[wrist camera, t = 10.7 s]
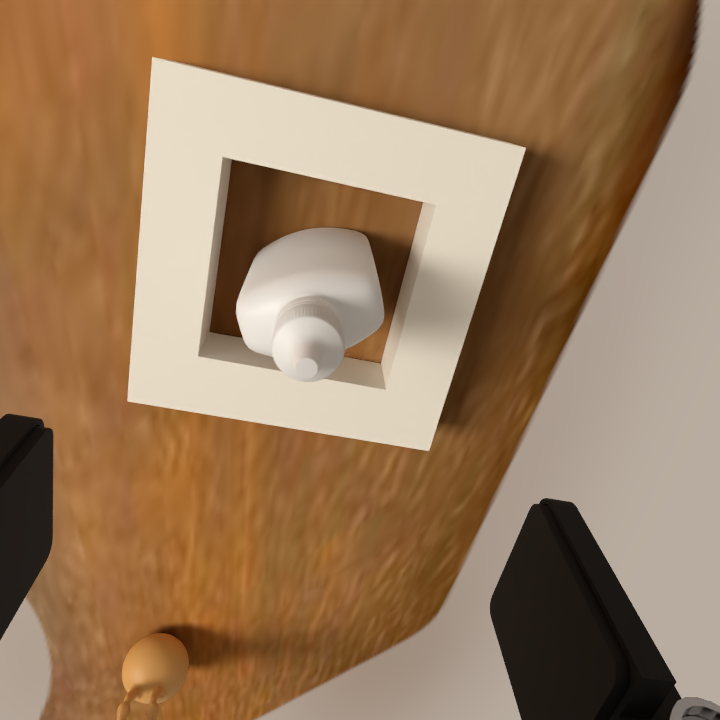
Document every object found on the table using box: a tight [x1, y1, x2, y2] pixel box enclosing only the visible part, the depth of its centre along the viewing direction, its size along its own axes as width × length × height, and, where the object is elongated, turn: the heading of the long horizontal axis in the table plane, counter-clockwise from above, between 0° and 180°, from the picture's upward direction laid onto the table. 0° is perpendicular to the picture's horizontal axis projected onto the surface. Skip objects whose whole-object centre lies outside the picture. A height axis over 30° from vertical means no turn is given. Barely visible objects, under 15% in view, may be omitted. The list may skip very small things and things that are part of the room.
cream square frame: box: [127, 57, 526, 451], centre depth 28 cm, size 15×15×3 cm
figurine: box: [117, 633, 189, 720], centre depth 33 cm, size 8×6×12 cm
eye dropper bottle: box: [236, 227, 384, 382], centre depth 24 cm, size 4×6×12 cm
